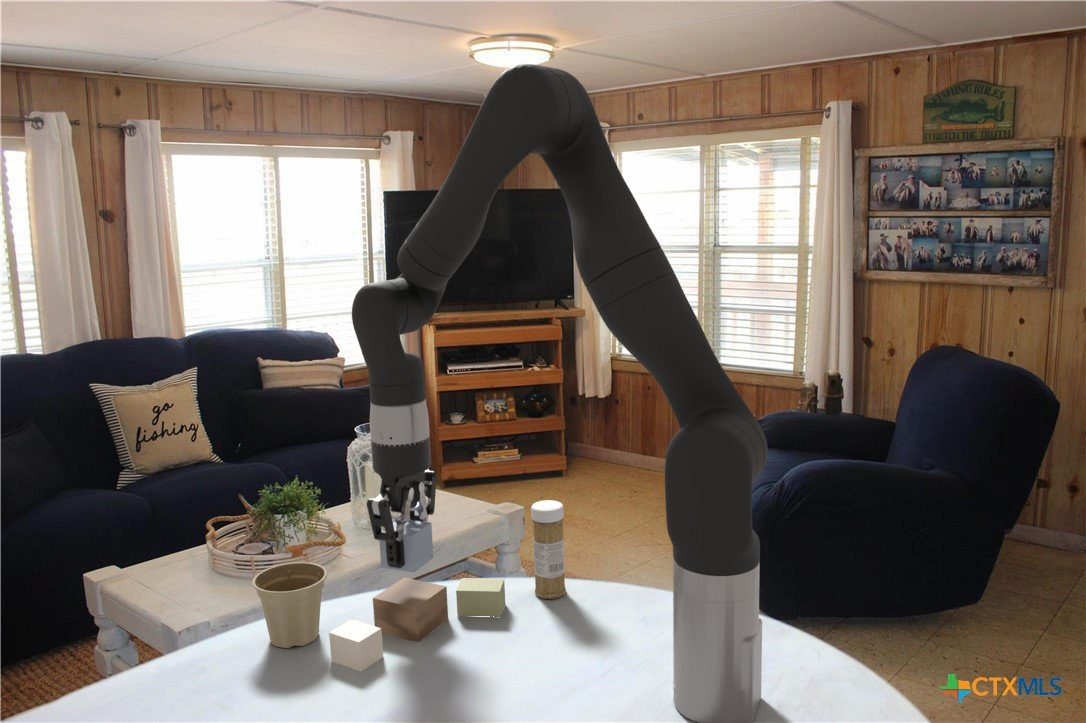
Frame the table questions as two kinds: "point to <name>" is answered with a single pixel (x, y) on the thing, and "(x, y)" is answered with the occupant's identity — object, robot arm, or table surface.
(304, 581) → the flower pot
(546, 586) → the sprinkles bottle
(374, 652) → the cream block
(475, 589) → the olive block
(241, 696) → the table surface
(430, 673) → the table surface
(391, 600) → the walnut block
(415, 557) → the slate block
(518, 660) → the table surface
